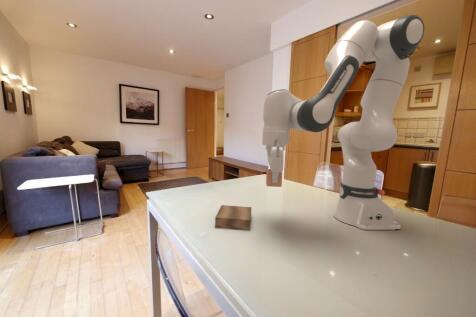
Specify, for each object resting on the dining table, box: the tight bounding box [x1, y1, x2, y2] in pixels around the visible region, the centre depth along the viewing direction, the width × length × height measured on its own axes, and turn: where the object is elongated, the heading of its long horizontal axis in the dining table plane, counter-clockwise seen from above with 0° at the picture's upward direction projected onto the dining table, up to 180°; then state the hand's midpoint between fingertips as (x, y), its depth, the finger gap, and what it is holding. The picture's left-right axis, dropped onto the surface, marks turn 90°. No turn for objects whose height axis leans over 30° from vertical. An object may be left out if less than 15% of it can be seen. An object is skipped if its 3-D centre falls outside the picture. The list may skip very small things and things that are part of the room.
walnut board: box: [214, 204, 252, 231], centre depth 76 cm, size 12×12×4 cm
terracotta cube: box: [265, 168, 283, 188], centre depth 71 cm, size 5×5×5 cm
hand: (273, 180), depth 71 cm, fingers closed on terracotta cube, 5 cm apart
